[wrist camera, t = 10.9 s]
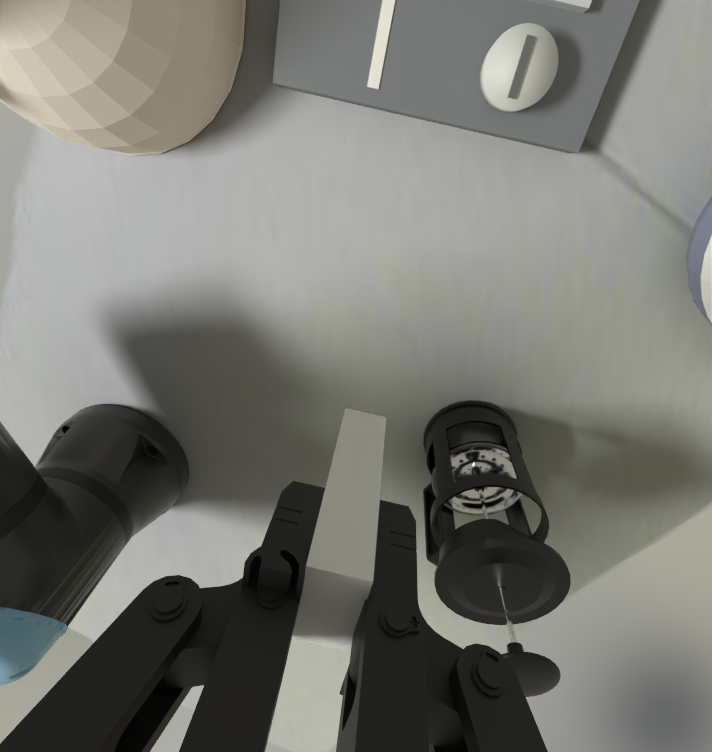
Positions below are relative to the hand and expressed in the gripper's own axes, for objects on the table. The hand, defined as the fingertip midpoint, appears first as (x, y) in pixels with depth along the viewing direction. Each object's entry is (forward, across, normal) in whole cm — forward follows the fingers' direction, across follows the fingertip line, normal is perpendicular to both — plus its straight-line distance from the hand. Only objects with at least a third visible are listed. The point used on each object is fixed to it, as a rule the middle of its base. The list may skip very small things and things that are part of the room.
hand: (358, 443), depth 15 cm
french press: (+25, +12, -15) cm, 31 cm away
